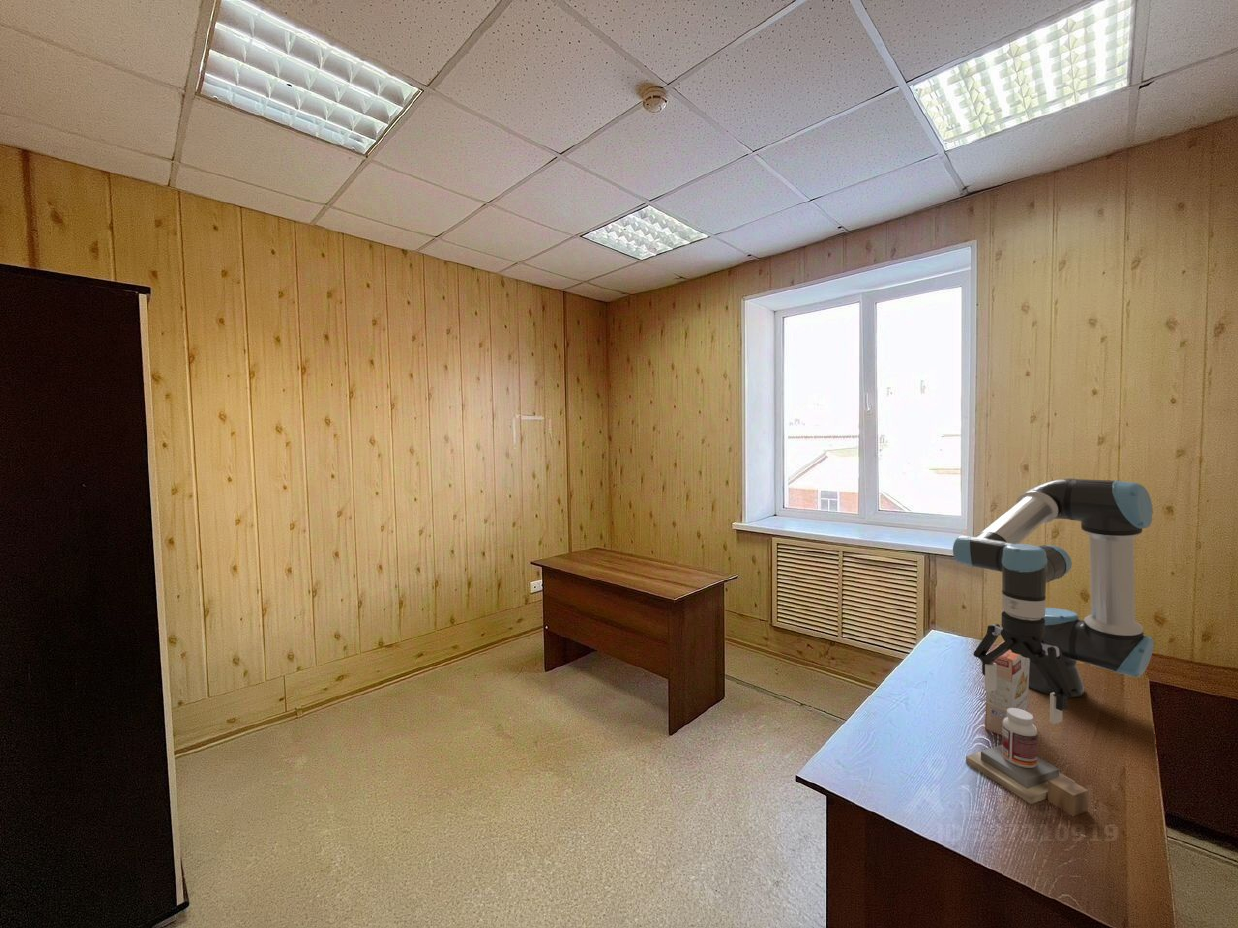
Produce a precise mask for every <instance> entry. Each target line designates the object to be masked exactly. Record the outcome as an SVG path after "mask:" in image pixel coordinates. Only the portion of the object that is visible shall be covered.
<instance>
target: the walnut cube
mask: <svg viewBox="0 0 1238 928" xmlns="http://www.w3.org/2000/svg"><path fill="white" fill-rule="evenodd" d="M1068 778H1069V777H1068ZM1068 778H1066V777H1064V776H1061V777H1058V778H1055V779H1052V780H1049V781H1048V798H1047V801H1048V800H1049V801H1050V803H1051V802H1052V803H1054V804H1055V805H1054V804H1053V805H1054V806H1056V805H1057V806H1058V808H1059V807H1060V808H1061V809H1060V808H1059V809H1060V810H1062V811H1064V812H1065V813H1067V814H1068V815H1070V816H1071V817H1074V816H1077V815H1080V814H1082V813H1085V812H1088V810H1089V809H1088V808H1089V807H1088V806H1089V789H1087V788H1085V787H1083V786H1082V785H1079V784H1078V783H1077V782H1076V781H1075V782H1076V783H1075V782H1073V781H1071V780H1069V779H1068ZM1049 801H1048V802H1049ZM1052 803H1051V804H1052ZM1057 806H1056V807H1057Z"/></svg>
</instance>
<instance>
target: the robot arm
mask: <svg viewBox="0 0 1238 928" xmlns="http://www.w3.org/2000/svg"><path fill="white" fill-rule="evenodd" d="M1153 509H1154V508H1153V502H1152V499H1151V496H1150V493H1149V492H1148V490H1147V488H1146V487H1145V486H1143V484H1142V485H1141V484H1140V483H1138V482H1133V481H1132V482H1130V481H1122V480H1105V479H1083V478H1081V479H1079V478H1061V479H1060V478H1059V479H1054V480H1051V481H1046V482H1043V483H1041V484H1038V485H1036V486H1034V487H1032V488H1029V489H1028V490H1026V491H1025V492H1023V493H1022V494H1020V495H1019V497H1018V498H1017V500H1016V502H1015V504H1014V505H1013V506H1012V507H1011V508H1009V509H1008V510H1007V511H1005V513H1004V514H1002V515H1000V517H998V518H997V519H996V520H995V521H992V523H991V524H990V525H988V526H987V527H986V528H985V529H983V530H981V532H979V533H978V534H977V535H976V536H971V535H959V536H958V537H956V539H955V541H954V542H953V546H952V554H953V558H954V560H955V562H957V563H958V564H962V565H966V566H970V567H972V568H974V567H975V568H979V569H984V570H988V571H990V570H991V571H995V572H1000V573H1001V574H1002V576H1001V578H1002V579H1001V585H1002V586H1001V587H1002V588H1001V609H1002V612H1001V626H1000V624H999V623H995V624H990V625H987V630H986V634H985V635H984V637H983V638H982V640H981V641H980V643H979V644H978V645H977V647H976V649H975V650H974V652H973V657H975V658H978V659H979V660H980V661H981V667H982V668H981V669H982V670H981V673H982V675H983V676H984V691H985V692H986V691H987V692H991V691H994V690H996V671H997V664H996V663H994V662H993V663H992V661H995V659H997V658H998V657H1000V656H1001V655H1003V654H1004V653H1006V652H1007V651H1009V650H1011V651H1012V653H1015V654H1019V655H1021V656H1023V657H1025V658H1029V659H1030V666H1029V687H1028V688H1029V689H1033V690H1034V691H1037V692H1040V693H1043V694H1045V695H1049V723H1050V724H1052V725H1057V724H1060V723H1062V722H1063V711H1066V710H1067V709H1068V698H1078V697H1081V696H1084V690H1085V689H1084V688H1085V686H1084V682H1083V680H1082V677H1081V675H1080V672H1079V668H1078V667H1077V661H1078V662H1081V663H1085V664H1087V665H1091V666H1094V667H1098V668H1100V669H1101V668H1102V669H1105V670H1106V671H1107V670H1108V671H1111V672H1114V673H1116V674H1122V675H1125V676H1129V677H1132V678H1136V677H1137V678H1138V677H1140V676H1142V675H1143V674H1144V672H1145V671H1146V670H1147V669H1148V667H1149V663H1150V661H1151V658H1152V655H1153V651H1154V646H1155V643H1154V639H1153V638H1152V637H1151V636H1148V635H1144V627H1143V625H1141V623H1140V622H1138V621H1136V604H1135V603H1136V599H1135V598H1136V595H1135V593H1136V592H1135V586H1136V585H1135V583H1136V582H1135V577H1136V576H1135V538H1136V537H1138V536H1140V535H1142V534H1143V529H1147V528H1149V527H1150V526H1151V524H1152V521H1153V514H1154V510H1153ZM1054 520H1070V521H1078V522H1080V524H1081V525H1080V526H1081V527H1080V528H1081V530H1082V531H1083V532H1084V533H1086V534H1087V535H1088V538H1089V539H1088V544H1089V545H1088V546H1089V577H1090V578H1089V579H1090V580H1089V581H1090V583H1089V584H1090V614H1088V615H1087V616H1085V617H1084V619H1083V620H1081V619H1080V617H1079V614H1078V613H1077V612H1075V611H1072V610H1069V609H1064V608H1063V609H1062V608H1055V607H1046V602H1047V601H1046V595H1047V594H1046V593H1047V583H1049V582H1052V581H1055V580H1058V579H1061V578H1062V577H1064V576H1065V575H1066V574H1068V573H1069V572H1070V571H1071V569H1072V564H1073V563H1072V558H1071V556H1070V555H1069V553H1068V552H1067V551H1066V550H1064V549H1063V548H1062V547H1059V546H1056V545H1052V544H1051V545H1050V544H1046V545H1045V544H1044V545H1043V544H1042V545H1034V544H1028V543H1027V544H1026V543H1022V542H1023V541H1024V540H1025V539H1027V537H1029V536H1030V535H1031V534H1032V533H1033V532H1035V531H1036V530H1037V529H1038V528H1039V527H1040V526H1041V525H1042V524H1046V523H1050V522H1052V521H1054ZM999 636H1001V637H1002V639H1003V641H1005V642H1003V641H1002V642H1003V643H1002V642H1001V643H1002V644H1001V643H999V644H1000V645H999V644H998V645H999V646H998V645H997V646H998V647H997V646H996V647H997V648H996V647H995V648H996V649H994V648H993V649H994V650H993V649H992V650H993V651H992V650H990V649H991V648H992V646H993V644H994V643H995V642H996V641H997V639H998V637H999ZM989 650H990V651H991V652H990V651H989ZM989 652H990V653H989Z"/></svg>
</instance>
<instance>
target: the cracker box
mask: <svg viewBox="0 0 1238 928" xmlns="http://www.w3.org/2000/svg"><path fill="white" fill-rule="evenodd" d="M1003 642H1005V641H1004V640H1003V641H1002V642H1000V643H999V644H998V645H997V646H995V647H994V648H992V650H990V651H988V653H990V652H991V651H993V650H994V649H996V648H997V647H998V646H999V645H1000V644H1002V643H1003ZM993 662H994V663H996V664H997V671H996V690H994V691H991V692H987V691H985V692H986V693H985V716H984V720H985V721H984V729H985V730H986V731H989V732H992V733H993V734H997V735H999V736H1001V737H1002V727H1003V726H1002V725H1003V719H1004V718H1006V717H1007V709H1008V708H1018V709H1022V710H1025V711H1027V712H1028V707H1029V706H1028V704H1029V688H1030V687H1029V666H1030V659H1029V658H1025V657H1023V656H1021V655H1019V654H1015V653H1012V651H1011V650H1009V651H1007V652H1006V653H1004V654H1003V655H1001V656H1000V657H998V658H997V659H995V661H992V663H993Z"/></svg>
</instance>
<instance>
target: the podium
mask: <svg viewBox="0 0 1238 928" xmlns="http://www.w3.org/2000/svg"><path fill="white" fill-rule="evenodd" d="M965 762H966V764H968V765H969V766H971V767H973V768H974V769H976V770H977V771H978V772H980V773H982V774H984V775H985V776H987V777H988V778H990V779H991V780H993V781H994V782H995V783H997V784H999V785H1000V786H1002V787H1003V788H1005V789H1006V790H1008V791H1010V792H1011V793H1013V794H1015V796H1018V797H1019V798H1020V799H1022V800H1024V801H1025V802H1027V803H1028V804H1030V805H1033V804H1036V803H1038V801H1039V802H1041V801H1044V800H1047V799H1048V781H1049V780H1052V779H1055V778H1058V777H1061V776H1064V777H1066V778H1068V779H1069V780H1071V781H1073V782H1075V783H1076V784H1077V782H1076V780H1073V779H1072V778H1070V777H1068V776H1067V775H1065V774H1063V773H1061V772H1060V768H1058V767H1056V766H1055V765H1053V764H1051V763H1050V762H1048V761H1046V760H1044V759H1043V758H1040V757H1038V756H1037V765H1036V766H1035V767H1033V768H1024V767H1020V766H1017V765H1015V764H1012V763H1011V762H1009V761H1007V760H1006V759H1005V758H1004V756H1003V754H1002V744H1000V745H997V746H995V747H991V748H988V749H984V750H981V751H979V752H975V753H972V754H969V755H966V757H965ZM1046 798H1047V799H1046Z"/></svg>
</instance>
